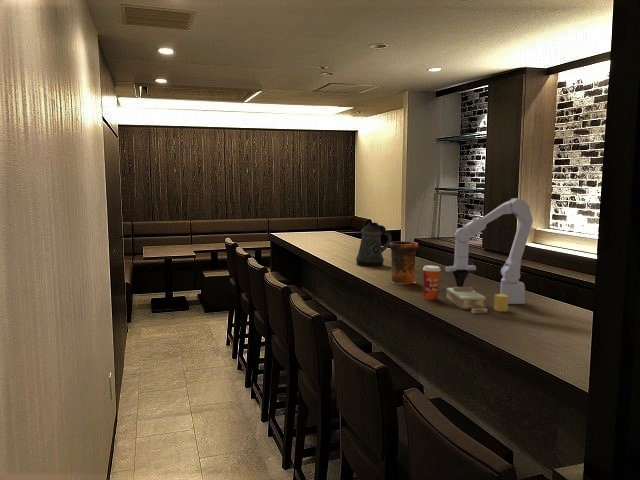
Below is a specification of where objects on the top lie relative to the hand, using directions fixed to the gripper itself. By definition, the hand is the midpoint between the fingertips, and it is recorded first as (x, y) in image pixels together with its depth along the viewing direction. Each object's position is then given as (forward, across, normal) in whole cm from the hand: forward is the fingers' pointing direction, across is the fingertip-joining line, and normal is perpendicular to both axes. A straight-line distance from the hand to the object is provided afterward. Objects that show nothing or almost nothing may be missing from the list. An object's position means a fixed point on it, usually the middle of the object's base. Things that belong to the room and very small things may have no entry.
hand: (459, 287), depth 227 cm
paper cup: (+6, -11, +5) cm, 13 cm away
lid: (+2, -2, -7) cm, 7 cm away
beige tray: (+5, -3, -10) cm, 12 cm away
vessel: (+6, -4, +41) cm, 41 cm away
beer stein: (+6, +6, +92) cm, 92 cm away
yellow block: (+6, +5, -20) cm, 21 cm away
